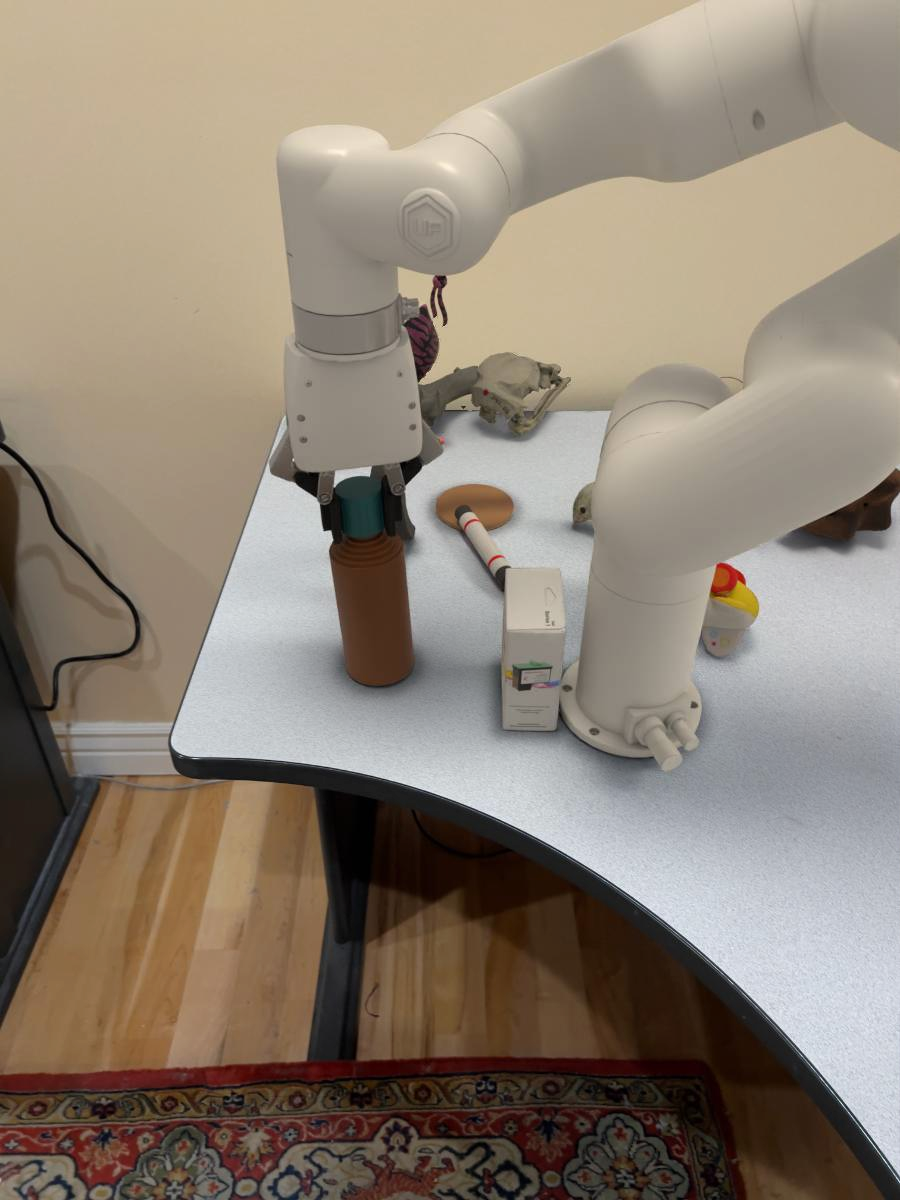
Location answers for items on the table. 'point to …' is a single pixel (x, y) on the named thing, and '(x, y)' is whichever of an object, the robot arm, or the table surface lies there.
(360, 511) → the cap
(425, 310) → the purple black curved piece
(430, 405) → the bone
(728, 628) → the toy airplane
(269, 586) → the table surface
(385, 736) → the table surface
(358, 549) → the bottle
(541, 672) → the ink box
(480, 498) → the coaster
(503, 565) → the marker
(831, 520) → the decorative turtle
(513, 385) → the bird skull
